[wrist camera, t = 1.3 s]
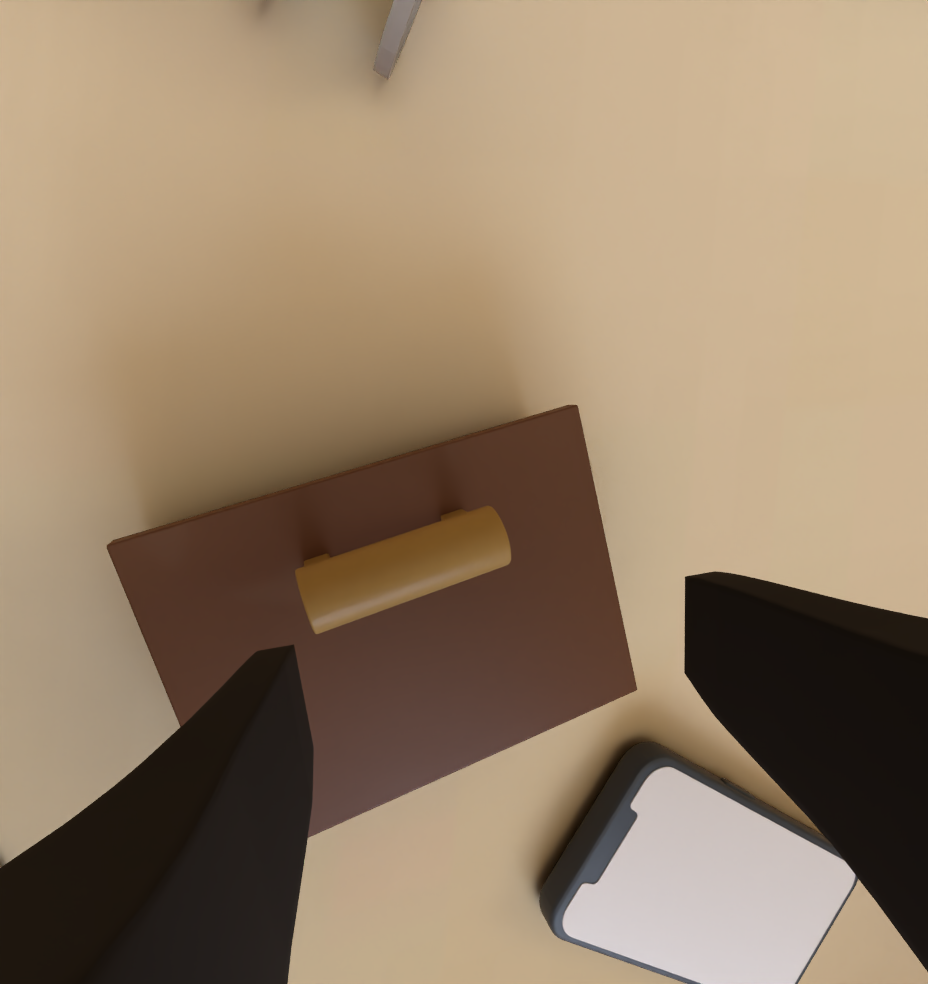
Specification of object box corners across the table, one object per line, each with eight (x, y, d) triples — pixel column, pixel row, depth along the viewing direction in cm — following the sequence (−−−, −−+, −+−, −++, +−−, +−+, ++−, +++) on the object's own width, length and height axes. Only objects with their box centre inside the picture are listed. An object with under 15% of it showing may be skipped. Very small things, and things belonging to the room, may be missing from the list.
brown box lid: (111, 540, 15) (58, 583, 11) (569, 404, 18) (639, 404, 15) (240, 854, 17) (229, 973, 14) (628, 682, 20) (701, 741, 17)
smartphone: (841, 841, 30) (633, 723, 25) (871, 864, 29) (656, 745, 23) (753, 990, 30) (521, 904, 24) (779, 1021, 28) (538, 938, 23)
